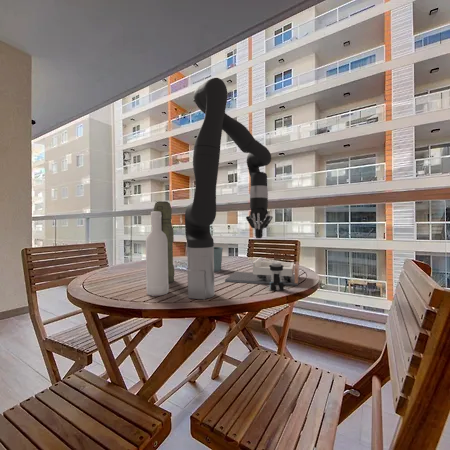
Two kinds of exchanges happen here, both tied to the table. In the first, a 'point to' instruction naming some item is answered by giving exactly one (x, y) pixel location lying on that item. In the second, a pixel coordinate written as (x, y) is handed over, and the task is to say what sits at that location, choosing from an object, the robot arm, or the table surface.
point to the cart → (264, 269)
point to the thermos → (167, 233)
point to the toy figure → (276, 276)
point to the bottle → (156, 258)
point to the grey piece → (263, 278)
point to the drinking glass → (217, 258)
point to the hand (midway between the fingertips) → (258, 238)
